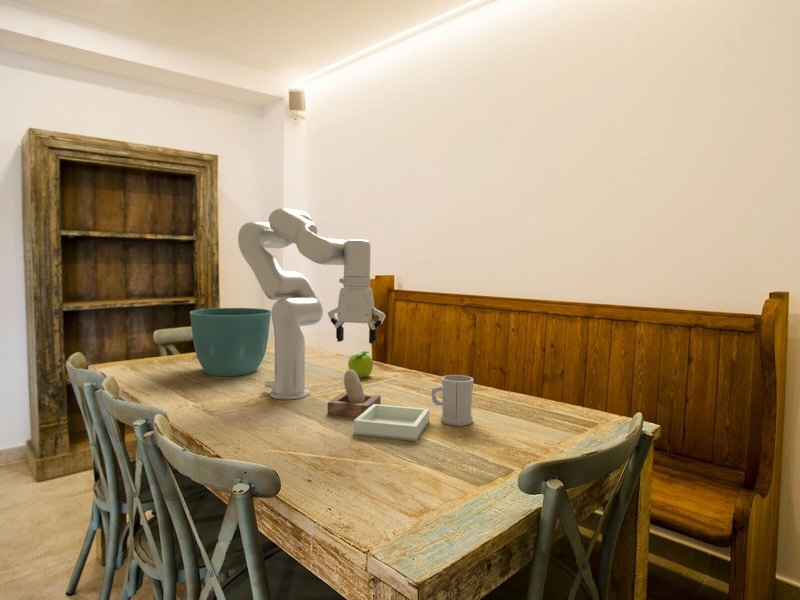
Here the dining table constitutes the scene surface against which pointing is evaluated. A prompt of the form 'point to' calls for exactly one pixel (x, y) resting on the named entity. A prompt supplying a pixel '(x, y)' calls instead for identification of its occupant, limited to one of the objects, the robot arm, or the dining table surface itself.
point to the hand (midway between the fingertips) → (356, 342)
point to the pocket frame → (351, 405)
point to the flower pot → (230, 339)
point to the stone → (353, 387)
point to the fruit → (361, 364)
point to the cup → (455, 399)
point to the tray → (392, 422)
